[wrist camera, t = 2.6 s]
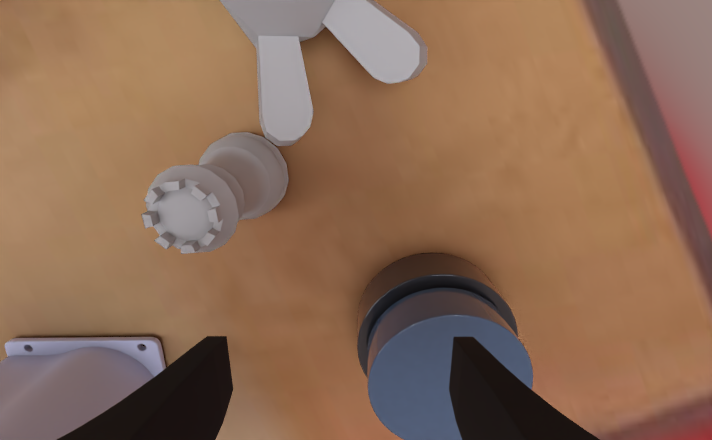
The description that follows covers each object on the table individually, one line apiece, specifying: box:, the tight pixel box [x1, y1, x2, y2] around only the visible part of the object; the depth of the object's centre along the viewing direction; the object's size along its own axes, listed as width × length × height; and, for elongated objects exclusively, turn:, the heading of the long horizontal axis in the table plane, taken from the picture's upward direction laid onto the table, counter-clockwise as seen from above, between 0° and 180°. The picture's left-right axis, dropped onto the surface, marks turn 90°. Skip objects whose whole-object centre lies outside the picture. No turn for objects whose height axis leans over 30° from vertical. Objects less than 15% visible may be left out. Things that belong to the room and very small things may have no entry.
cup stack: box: [357, 253, 533, 440], centre depth 20 cm, size 9×9×6 cm
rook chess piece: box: [141, 132, 289, 254], centre depth 16 cm, size 4×4×8 cm
